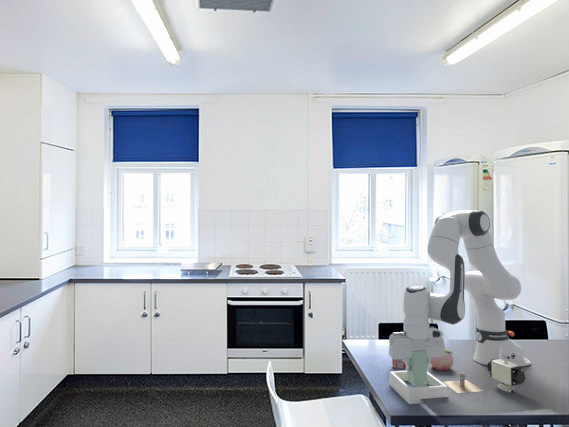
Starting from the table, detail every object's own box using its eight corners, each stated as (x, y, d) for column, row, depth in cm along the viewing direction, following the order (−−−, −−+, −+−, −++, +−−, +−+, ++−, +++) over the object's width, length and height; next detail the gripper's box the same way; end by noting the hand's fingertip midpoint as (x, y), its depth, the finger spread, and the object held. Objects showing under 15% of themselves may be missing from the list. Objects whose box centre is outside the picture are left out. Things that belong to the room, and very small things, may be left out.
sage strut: (427, 384, 140) (426, 350, 141) (414, 385, 140) (413, 351, 140) (420, 379, 145) (419, 346, 146) (407, 380, 145) (407, 347, 145)
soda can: (410, 371, 163) (410, 339, 163) (392, 370, 164) (392, 338, 164) (408, 365, 170) (408, 334, 170) (391, 363, 171) (391, 333, 171)
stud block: (466, 383, 150) (466, 366, 150) (483, 395, 140) (483, 377, 140) (442, 385, 148) (441, 368, 148) (457, 397, 138) (457, 379, 138)
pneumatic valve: (516, 401, 135) (516, 366, 135) (487, 388, 145) (486, 355, 146) (527, 398, 137) (527, 363, 137) (497, 385, 148) (497, 353, 148)
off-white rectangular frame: (424, 382, 151) (424, 369, 152) (447, 401, 136) (447, 386, 136) (389, 384, 149) (389, 371, 149) (409, 404, 134) (409, 389, 134)
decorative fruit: (449, 368, 166) (448, 344, 166) (456, 375, 158) (455, 350, 158) (426, 367, 167) (425, 343, 167) (432, 375, 158) (431, 350, 159)
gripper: (392, 335, 138) (393, 375, 138) (447, 332, 141) (447, 371, 141) (385, 330, 144) (386, 368, 144) (437, 327, 148) (438, 364, 147)
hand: (417, 369), depth 143 cm, fingers closed on sage strut, 5 cm apart
